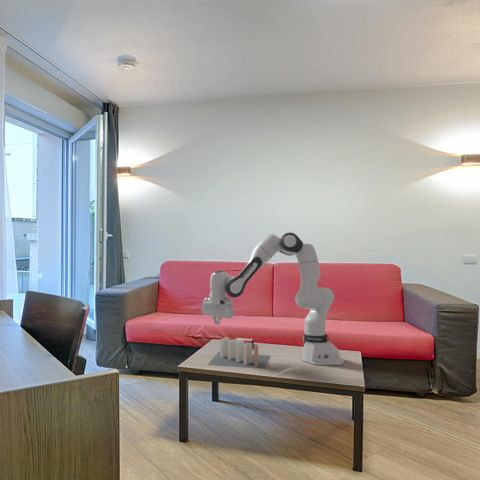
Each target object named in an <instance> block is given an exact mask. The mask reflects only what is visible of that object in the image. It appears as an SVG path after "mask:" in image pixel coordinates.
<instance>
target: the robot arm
mask: <svg viewBox="0 0 480 480" xmlns="http://www.w3.org/2000/svg"><path fill="white" fill-rule="evenodd" d="M278 252H279V253H281V254H283V255H285V256H288V257H289V256H290V257H292V256H294V255H295V257H296V258H297V264H298V269H299V270H298V271H299V275H300V284H299V289H298V291H297V292H296V294H295V297H294V300H295V304H296V305H297V307H298V308H300V309H304V310H309V312H308V313H307V315H306V316H305V318H304V332H303V339H302V340H303V350H302V354H301V359H300V360H302V361H304V362H306V363H309V364H311V365H314V366H317V365H318V366H341V365H343V364H344V363H345V360H344V358H343V357H342V356H341V354H340V351H339V349H338V348H337V346H336V345H334V344H333V343H332V342H331V341H330V340H331V337H330V335H328V334H327V333H326V321H327V320H326V319H327V316H328V313H329V310H330V307H331V306H332V305H333V303H334V301H335V294H334V292H333V290H332V289H331V288H328V287H324V286H322V287H321V286H320V287H318V282H319V279H320V278H321V276H322V274H321V269H320V267H321V266H320V263H319V259H318V255H317V252H316V249H315V247H314V246H313V244H310V243H304V242H303V241H302V240H301V238H300V237H299V236H298V235H297V234H296V233H293V232H285V233H284V234H283V235H282V236H281V237H279V236H278V235H276V234H272V233H269V234H267V235H266V236H265V237H264V238H262V239H261V240H260V241H259V242H258V243H257V244H256V245H255V246H254V247H253V248H252V251H250V254H249V260H248V262H247V264H246V265H245V267H244V268H243V269H242V270H241V271H240V272H239V274H237V275H236V276H234V275H231V274H229V273H227V272H226V271H225V270H216V271H213V272H212V273H211V275H210V280H209V289H210V291H209V298H207V297H204V299H203V300H202V305H201V314H202V315H204V316H205V315H206V316H210V317H212V320H213V324H214V325H217V326H218V325H221V323H220V322H221V321H222V318H223V319H232V318H233V317H234V312H235V311H234V305H233V303H234V300H233V299H231V298H238V297H240V296H242V294H243V293H244V291H245V288H246V285H247V283H248V282H249V281H250V280H251V278H252V277H253V276H254V275H255V274H256V273H257V271H259V270H260V269H261V268H262V267H263V266H264V265H266V264H267V263H268V262H269V261H270V260H271V259H272V258H273V257H274V256H275V255H276V253H278ZM226 294H227V296H226ZM228 296H229V297H231V298H229V297H228Z"/></svg>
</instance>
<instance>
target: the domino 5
mask: <svg viewBox="0 0 480 480" xmlns="http://www.w3.org/2000/svg"><path fill="white" fill-rule="evenodd" d="M253 355H254V365H255V367H258V355H259V346H258V344H257V343H256V344H253Z"/></svg>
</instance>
